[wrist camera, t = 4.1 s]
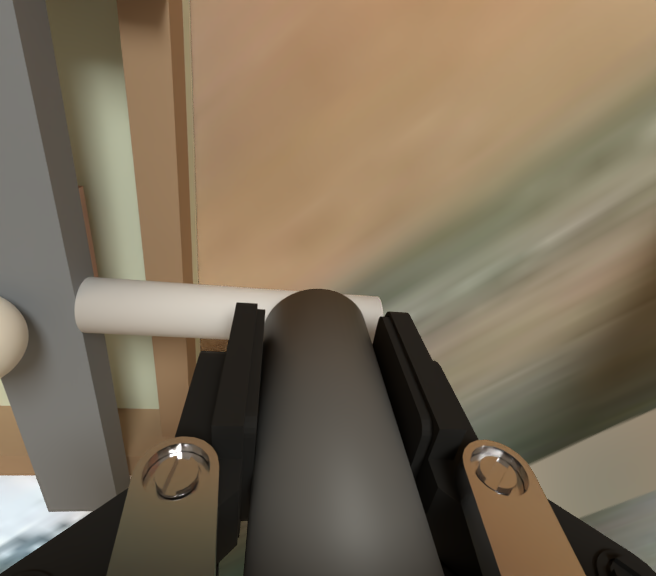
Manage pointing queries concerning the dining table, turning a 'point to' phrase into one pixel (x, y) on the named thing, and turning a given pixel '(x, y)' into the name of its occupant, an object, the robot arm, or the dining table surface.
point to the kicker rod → (188, 322)
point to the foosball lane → (130, 191)
